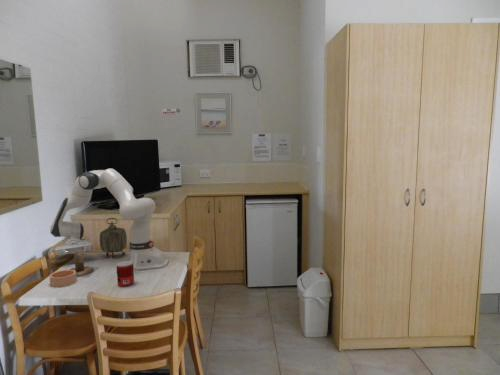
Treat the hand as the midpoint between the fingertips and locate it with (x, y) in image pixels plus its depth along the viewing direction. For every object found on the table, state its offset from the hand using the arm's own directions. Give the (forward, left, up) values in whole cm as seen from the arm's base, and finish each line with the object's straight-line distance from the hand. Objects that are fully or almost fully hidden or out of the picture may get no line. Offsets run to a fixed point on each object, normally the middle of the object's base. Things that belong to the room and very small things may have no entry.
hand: (75, 251), depth 210 cm
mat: (-6, +11, -9) cm, 15 cm away
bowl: (-4, +26, -9) cm, 28 cm away
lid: (-6, +11, -9) cm, 15 cm away
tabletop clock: (-15, -18, -9) cm, 26 cm away
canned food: (-37, +30, -9) cm, 49 cm away
